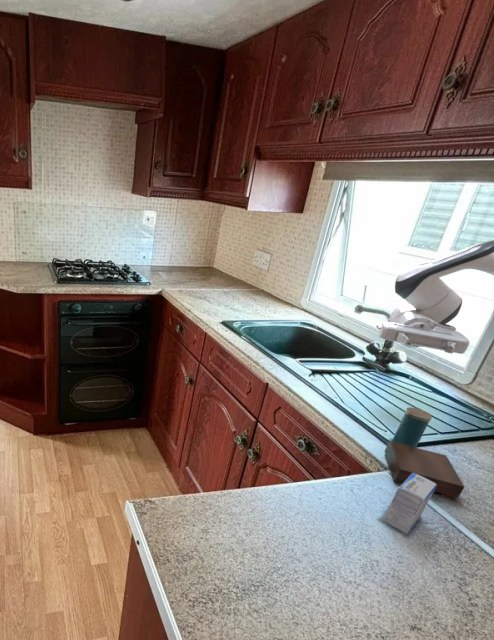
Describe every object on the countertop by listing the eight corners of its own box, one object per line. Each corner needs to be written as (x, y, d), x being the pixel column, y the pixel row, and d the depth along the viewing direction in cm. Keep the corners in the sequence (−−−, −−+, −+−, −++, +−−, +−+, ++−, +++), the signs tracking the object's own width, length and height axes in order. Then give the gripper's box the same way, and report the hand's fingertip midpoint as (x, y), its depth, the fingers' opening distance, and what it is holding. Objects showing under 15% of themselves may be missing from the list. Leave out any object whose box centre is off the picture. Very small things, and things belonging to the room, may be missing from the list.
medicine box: (406, 535, 76) (425, 500, 73) (381, 520, 79) (398, 486, 76) (419, 517, 81) (438, 484, 77) (395, 503, 84) (412, 471, 80)
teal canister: (412, 443, 106) (428, 410, 102) (417, 454, 102) (434, 421, 97) (389, 437, 108) (404, 405, 103) (393, 448, 103) (409, 415, 99)
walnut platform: (438, 468, 97) (446, 455, 95) (456, 501, 87) (464, 486, 85) (383, 453, 100) (389, 440, 99) (393, 483, 90) (400, 469, 88)
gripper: (379, 313, 118) (389, 326, 106) (461, 327, 112) (481, 343, 100) (371, 333, 121) (380, 348, 109) (451, 348, 115) (469, 366, 103)
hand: (429, 346), depth 104 cm, fingers open, 8 cm apart
